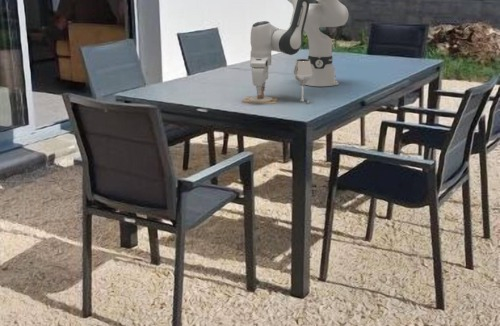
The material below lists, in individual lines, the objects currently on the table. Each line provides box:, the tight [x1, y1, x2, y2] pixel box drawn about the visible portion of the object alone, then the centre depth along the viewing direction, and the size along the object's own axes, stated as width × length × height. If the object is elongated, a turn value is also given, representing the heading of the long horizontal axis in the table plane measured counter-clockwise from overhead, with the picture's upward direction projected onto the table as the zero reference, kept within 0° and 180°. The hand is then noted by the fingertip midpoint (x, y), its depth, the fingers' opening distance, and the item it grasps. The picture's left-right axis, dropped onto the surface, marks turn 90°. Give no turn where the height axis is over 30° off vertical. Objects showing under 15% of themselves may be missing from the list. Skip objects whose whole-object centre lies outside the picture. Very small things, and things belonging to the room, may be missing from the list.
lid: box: [249, 88, 272, 102], centre depth 276 cm, size 10×10×5 cm
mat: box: [241, 96, 280, 105], centre depth 277 cm, size 14×14×1 cm
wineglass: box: [292, 58, 313, 104], centre depth 273 cm, size 8×8×18 cm
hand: (260, 93), depth 276 cm, fingers open, 8 cm apart
